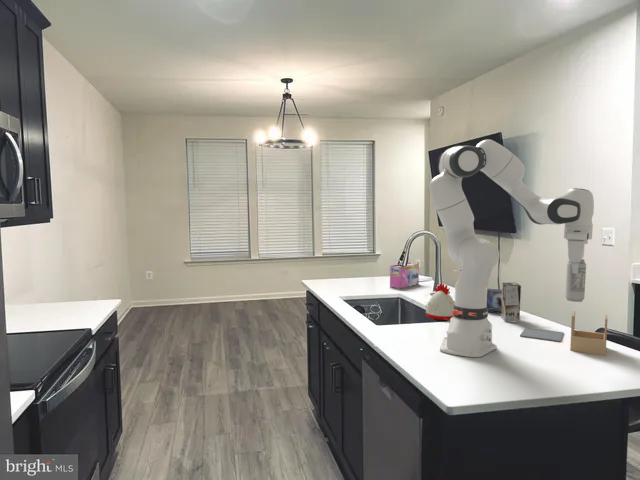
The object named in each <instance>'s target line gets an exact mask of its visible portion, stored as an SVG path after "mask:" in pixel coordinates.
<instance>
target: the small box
mask: <svg viewBox="0 0 640 480" xmlns="http://www.w3.org/2000/svg"><path fill="white" fill-rule="evenodd" d="M501 306H502V289H497V288H487V307H488V313H493V314H501Z"/></svg>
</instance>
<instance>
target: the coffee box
mask: <svg viewBox="0 0 640 480" xmlns="http://www.w3.org/2000/svg"><path fill="white" fill-rule="evenodd" d="M521 288H522V285H520V284H519V283H517V282H502V283H501V290H502V306H501V313H500V315H501V318H502V320H503V321H504V322H507V323H508V322H510V323H520V317H521V315H520V313H521V297H522V296H521V294H522V289H521Z"/></svg>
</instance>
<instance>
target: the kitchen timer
mask: <svg viewBox="0 0 640 480" xmlns="http://www.w3.org/2000/svg"><path fill="white" fill-rule="evenodd" d="M436 286H437V287H434V290H435V291H434V292H435V293H433V294H432V295H431V297H430V298H429V300H428V302H427V306H426V309H425V316H426V317H427V318H429V319H432V320H433V319H434V320H440V321H450V319H451V318H452V317H453V315H452V311H453V307H454V304H455V299H453V297H452V296H451V295H450V294H449V292H450V290H451V289H450V288H448V285H447V284H446V285H445V284H444V283H439V285H436Z"/></svg>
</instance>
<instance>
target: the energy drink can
mask: <svg viewBox="0 0 640 480" xmlns="http://www.w3.org/2000/svg"><path fill="white" fill-rule="evenodd" d="M586 274H587V264H586V262H585V259H584V258H583V259H582V260H581V261H580V262H579V267H578V273H577V274H574V273H572V261H569V260H568V262H567V263H566V278H565V279H566V281H565V294H564V295H565V298H566V301H569V302H575V303H576V302H577V303H582V302H583V301H584V300H585V293H586V292H585V291H586Z"/></svg>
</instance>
